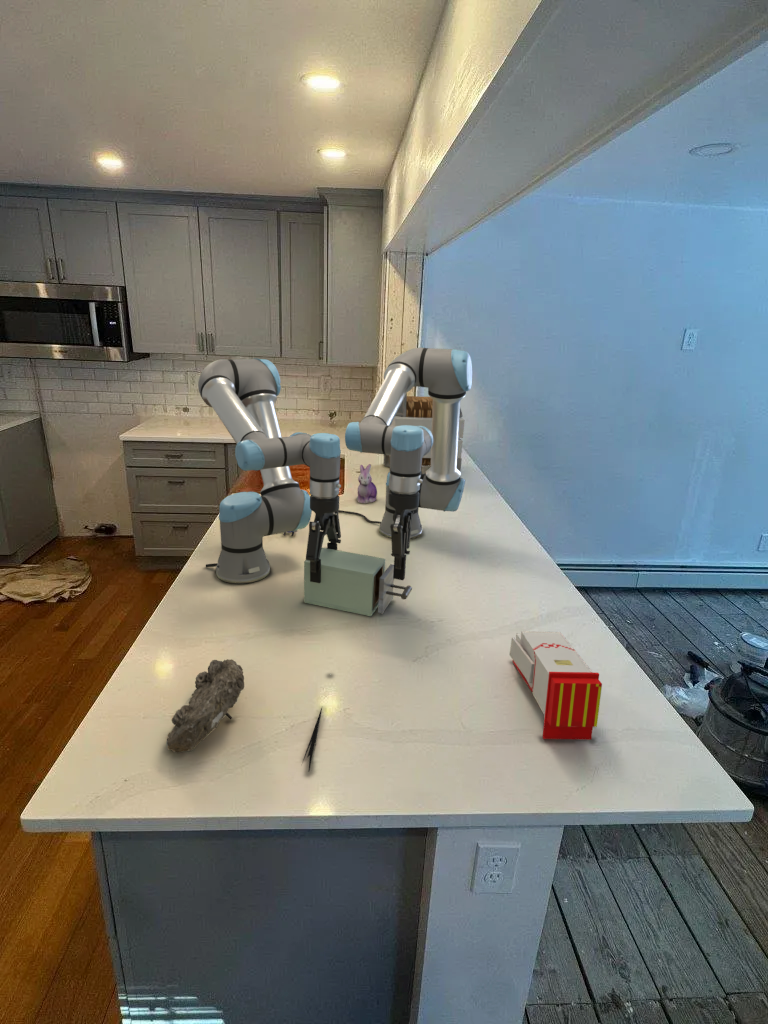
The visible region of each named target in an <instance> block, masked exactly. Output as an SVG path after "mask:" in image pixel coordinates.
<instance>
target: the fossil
mask: <svg viewBox="0 0 768 1024" xmlns="http://www.w3.org/2000/svg"><path fill="white" fill-rule="evenodd" d="M243 670H244V669H243V667H242V665H240V664H237V662H236V661H235V660H234V659H232V658H231V659H227V658H226V659H224V660H223V661H222V660H217V659H212V660H211V661H210V663H209V665H208V666H207V671H201V672H199V673H198V674H197V675H196V676H195V680H194V684H195V685H194V687H195V689H194V690H193V693H192V694H191V697H190V698H189V700H188V704H184V705H182V706H181V707H180V709H177V710H176V711H175V713H174V715H173V716H172V718H171V723H172V724H173V727H172V730H171V731H170V732H168V734H167V738H166V741H167V742H166V745H167V749H168V750H169V751H173V752H174V753H176V754H178V753H182V752H188V751H189V752H192V751H193V750H195V748H196V747H197V746H199V744H200V743H201V742H203V741H204V740H205V739H206V738H207V737H208V736H209V735H210V734H211V733H212V732H214V730H215V729H217V727H218V726H219V724H220V722H221V721H222V720H223V719H224V718H225V716H226V717H227V719H229V720H233V717H232V715H230V714H229V710H230V709H231V708H234V706H235V704H236V703H237V702H238V699H239V697H240V695H241V693H242V691H243V690H245V689H244V688H245V675H244V671H243Z"/></svg>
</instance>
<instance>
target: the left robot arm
mask: <svg viewBox="0 0 768 1024" xmlns="http://www.w3.org/2000/svg"><path fill="white" fill-rule="evenodd" d="M279 373H280V372H279V371H278V368H277V367H276V365H275V364H274V363H273V362H272V361H270V360H269V359H265V358H257V357H256V358H237V359H236V358H233V359H232V358H231V359H229V358H228V359H227V358H221V359H216V360H214V361H212V362H210V363H208V364H207V365H206V366H205V367H204V368H203V370H202V371H201V373H200V374H199V378H198V383H197V387H198V393H199V395H200V397H201V399H202V400H203V402H204V403H205V404H206V406H207V407H210V408H212V409H213V411H214V412H215V414H216V415H217V417H218V418H219V420H220V421H221V423H222V424H223V427H225V429H226V430H227V432H228V434H229V435H230V437H231V438H232V440H233V441H234V442H235V444H236V445H235V449H234V453H235V454H234V456H235V460H236V463H237V466H238V467H239V469H241V470H242V471H245V472H247V471H254V472H255V471H256V472H257V471H260V474H261V475H260V476H261V479H262V484H263V487H262V488H261V490H260V493H259V492H256V491H240V492H236V493H232V494H229V495H228V496H225V497H224V498H223V499H221V501H220V503H219V506H218V507H219V509H218V510H219V512H218V520H219V534H220V547H221V548H220V552H219V556H218V559H217V562H216V563H215V562H214V563H206V564H205V568H213V567H216V569H215V575H216V577H217V578H218V579H219V580H220V581H223V582H225V583H228V584H229V583H230V584H235V585H236V584H238V585H239V584H240V585H241V584H243V585H244V584H251V583H255V582H259V581H261V580H263V579H265V578H266V577H267V576H268V575H269V574H270V572H271V569H270V568H271V566H270V562H269V560H268V558H267V555H266V553H265V549H264V545H263V544H264V541H263V539H264V537H269V536H274V535H278V534H284V532H286V533H288V532H290V531H291V533H292V532H294V531H296V530H297V531H298V530H303V529H305V528H306V527H308V537H307V544H306V552H305V560H309V561H310V582H315V583H320V582H321V559H319V558H320V553H321V549H322V548H323V543H324V540H325V536H326V537H327V541H328V542H327V543H326V548H328V549H334V550H338V544H341V543H342V539H341V537H342V533H341V525H340V517H339V513H340V512H339V510H340V496H339V494H340V489H341V487H342V484H340V476H341V452H342V450H341V439H340V437H339V435H336V434H334V433H330V432H329V433H328V432H320V433H313V434H310V433H306V432H300V431H298V432H294V433H291V435H289V436H282V431H281V428H280V425H279V421H278V417H277V413H276V408H275V404H276V402H277V401H278V396H279V395H280V393H281V390H282V389H281V388H282V385H281V383H282V382H281V376H280V374H279ZM301 465H304V466H307V467H309V492H307V490H304V489H301V487H300V484H299V482H298V481H296V480H295V479H293V477H292V472H291V469H290V467H292V466H301ZM312 512H313V513H314V519H313V521H311V518H312ZM297 531H296V532H297ZM294 533H295V532H294Z"/></svg>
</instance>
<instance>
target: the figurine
mask: <svg viewBox="0 0 768 1024" xmlns="http://www.w3.org/2000/svg"><path fill="white" fill-rule="evenodd" d="M371 469H372V464H371V463H369V464H368V465H366V467H364V465H363V464H360V465H359V475H358V477H357V480H358V483H359V484H358V487H357V497H356V500H357V502H358V503H360V504H368V503H374V502H375V501H376V500H377V497H378V496H377V495H378V489H377V486H376V484H375V482H373V481H372V480H373V478H372V476H371V473H370V472H371Z"/></svg>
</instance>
